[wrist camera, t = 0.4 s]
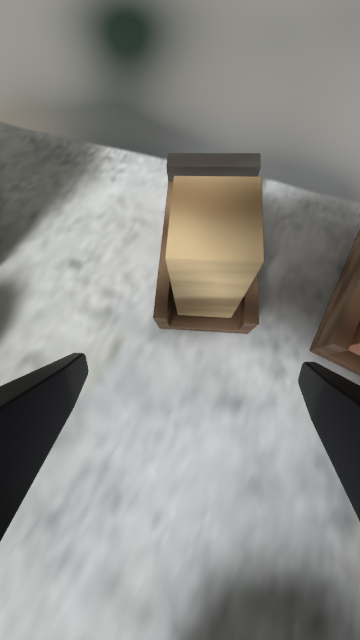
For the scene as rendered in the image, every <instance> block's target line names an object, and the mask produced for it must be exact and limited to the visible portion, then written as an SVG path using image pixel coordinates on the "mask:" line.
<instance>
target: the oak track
mask: <svg viewBox="0 0 360 640" xmlns="http://www.w3.org/2000/svg"><path fill="white" fill-rule="evenodd" d="M260 167H261V165H260V154H255V153H254V154H251V153H250V154H248V153H247V154H246V153H245V154H244V153H235V154H234V153H233V154H232V153H231V154H230V153H228V154H225V153H219V154H215V153H211V154H210V153H207V154H205V153H197V154H195V153H185V154H184V153H178V154H177V153H175V154H174V153H173V154H172V153H169V154H168V159H167V174H168V190H167V199H166V208H165V217H164V226H163V235H162V243H161V252H160V261H159V270H158V279H157V288H156V297H155V306H154V315H153V318H154V320H155V322H156V323H157V325H158V326H159V328H162V329H178V330H195V331H211V332H228V333H245V334H248V333H249V332H250V331H251V330H252V329H253V328H255V327H256V326H257V325H258V324H259V312H258V273H257V275H256V276H255V278H254V280H253V281H252V283H251V285H250V287H249V288H248V290H247V292H246V293H245V295H244V297H243V298H242V300H241V302H240V304H239V305H238V307H237V309H236V310H235V312H234V314H233V315H232V317H231V318H224V317H206V316H188V315H178V313H177V309H176V304H175V300H174V295H173V291H172V286H171V282H170V277H169V273H168V268H167V264H166V259H165V256H166V247H167V237H168V227H169V218H170V208H171V199H172V189H173V180H174V176H244V177H258V174H259V170H260Z"/></svg>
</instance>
